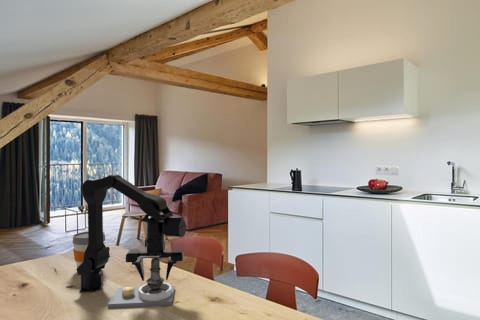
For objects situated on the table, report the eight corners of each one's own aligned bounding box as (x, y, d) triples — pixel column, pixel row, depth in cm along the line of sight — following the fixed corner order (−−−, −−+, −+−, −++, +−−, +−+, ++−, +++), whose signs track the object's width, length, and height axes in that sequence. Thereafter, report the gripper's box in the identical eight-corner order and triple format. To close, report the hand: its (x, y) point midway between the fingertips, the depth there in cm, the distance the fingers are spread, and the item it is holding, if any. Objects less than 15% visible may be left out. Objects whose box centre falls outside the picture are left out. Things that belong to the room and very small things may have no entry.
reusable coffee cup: (111, 268, 144) (111, 233, 144) (84, 277, 133) (84, 239, 133) (93, 263, 151) (93, 229, 150) (66, 271, 140) (66, 235, 140)
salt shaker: (167, 289, 117) (167, 255, 116) (154, 295, 112) (154, 259, 111) (155, 285, 120) (155, 252, 120) (142, 291, 115) (142, 256, 115)
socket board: (107, 307, 108) (107, 297, 108) (117, 291, 121) (117, 282, 121) (171, 305, 110) (171, 295, 110) (174, 289, 123) (174, 280, 123)
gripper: (184, 229, 124) (183, 271, 125) (132, 229, 122) (131, 272, 123) (182, 236, 113) (182, 282, 114) (125, 237, 111) (125, 284, 112)
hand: (155, 280), depth 116 cm, fingers closed on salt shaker, 7 cm apart
